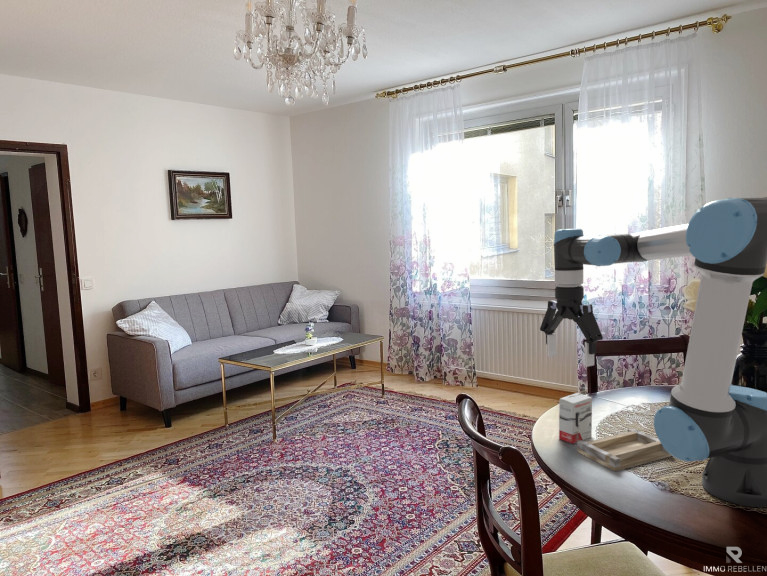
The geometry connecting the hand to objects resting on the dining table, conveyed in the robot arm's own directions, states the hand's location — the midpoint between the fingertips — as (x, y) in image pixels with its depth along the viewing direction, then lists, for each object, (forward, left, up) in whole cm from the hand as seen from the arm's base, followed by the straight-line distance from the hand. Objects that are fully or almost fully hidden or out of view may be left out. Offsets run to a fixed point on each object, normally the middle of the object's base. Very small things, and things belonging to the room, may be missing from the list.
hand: (570, 361), depth 153 cm
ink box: (-2, -1, -22) cm, 22 cm away
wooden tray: (-16, -4, -22) cm, 27 cm away
